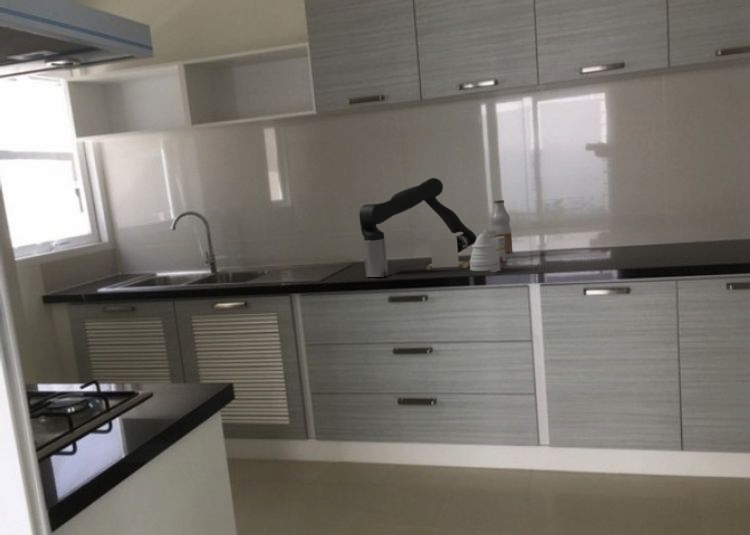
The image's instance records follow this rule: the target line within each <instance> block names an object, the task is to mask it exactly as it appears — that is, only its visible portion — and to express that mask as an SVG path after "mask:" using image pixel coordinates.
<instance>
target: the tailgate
mask: <svg viewBox="0 0 750 535" xmlns="http://www.w3.org/2000/svg"><path fill="white" fill-rule="evenodd" d="M429 246H430V257H431V264H432V268H433V269H432V271H444V270H445V271H447V270H459V269H460V268H459V261H460V260H459V253H458V249H457V237H456V236H453V237H440V238H439V237H438V238H430V239H429ZM440 267H451V268H440Z"/></svg>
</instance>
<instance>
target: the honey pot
mask: <svg viewBox="0 0 750 535" xmlns="http://www.w3.org/2000/svg"><path fill="white" fill-rule="evenodd" d="M490 230H491V229H484V230H483V233H480V234H479V235H478V236H476V241H475V243H473V244H472V245H471V247H472V251H471V255H470V258H469V261H470V266H469V270H470V271H473V272H484V271H485V272H486V271H487V272H488V271H489V272H497V271H500V272H501V263H500V262H501V260H500V259H499V257H498V255H497V253H496V250H495V248H494V246H495V245H496V244H495V243H492V242H491V240H490V239H489V232H491V231H490ZM497 273H498V272H497Z"/></svg>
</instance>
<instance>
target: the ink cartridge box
mask: <svg viewBox="0 0 750 535" xmlns="http://www.w3.org/2000/svg"><path fill="white" fill-rule="evenodd" d="M492 233H493V235H492ZM488 237H489V239H490V240H491V242H492V243H495V244H496V245H495V246H494V248H495V250H496V253H497V255H498V257H499V259H500V262H499V263H500V264H501V263H504V262H506V261H507V259H506V254H505V236H500V237H495V231H490V232H489V234H488Z"/></svg>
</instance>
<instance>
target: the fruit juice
mask: <svg viewBox="0 0 750 535" xmlns="http://www.w3.org/2000/svg"><path fill="white" fill-rule="evenodd" d="M493 205H494V208H493V211H492V214H491V216H490V224H491V229H490V230H491V231H495V237H500V236H505V254H506V260H509V259H512V258H513V257H514V253H513V240H512V228H511V225H510V222H511V221H510V220H511V218H510V215H509V213H508V212H507V209H506V207H505V200H503V199H500V200H498V199H497V200H494V201H493ZM491 231H490V232H491ZM491 235H493V233H492V234H491Z"/></svg>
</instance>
